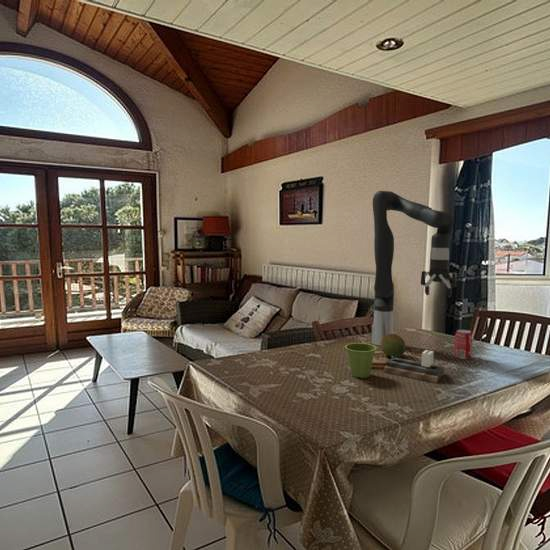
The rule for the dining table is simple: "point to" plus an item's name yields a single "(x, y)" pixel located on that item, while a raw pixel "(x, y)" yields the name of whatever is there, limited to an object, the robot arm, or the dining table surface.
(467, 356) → the soda can
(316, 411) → the dining table surface
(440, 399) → the dining table surface
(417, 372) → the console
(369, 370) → the plant pot
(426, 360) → the fader knob
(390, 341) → the fruit
